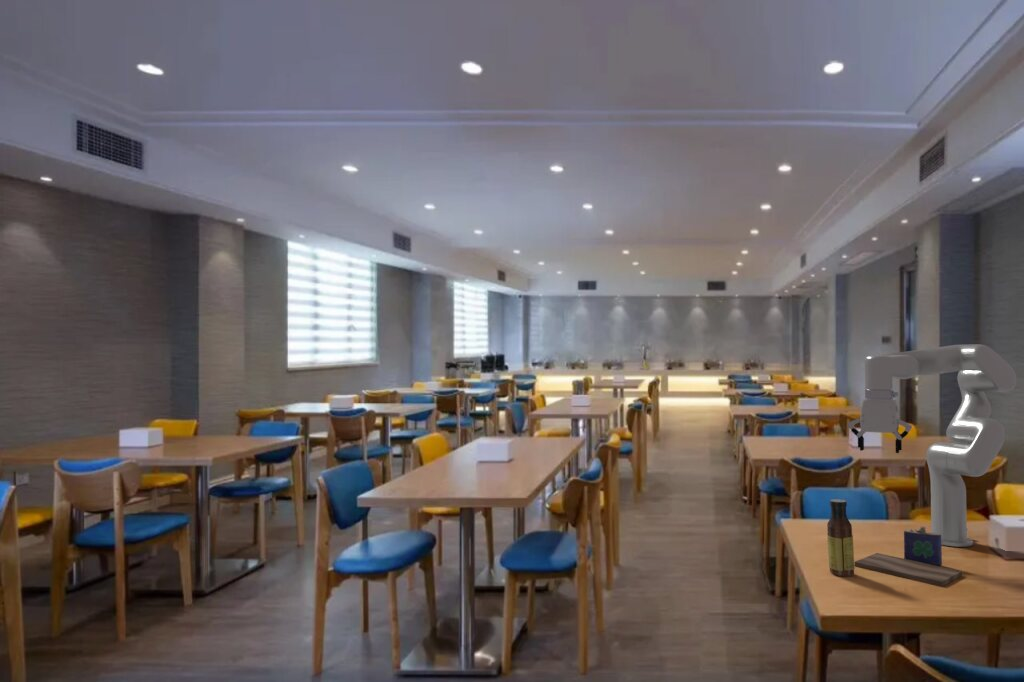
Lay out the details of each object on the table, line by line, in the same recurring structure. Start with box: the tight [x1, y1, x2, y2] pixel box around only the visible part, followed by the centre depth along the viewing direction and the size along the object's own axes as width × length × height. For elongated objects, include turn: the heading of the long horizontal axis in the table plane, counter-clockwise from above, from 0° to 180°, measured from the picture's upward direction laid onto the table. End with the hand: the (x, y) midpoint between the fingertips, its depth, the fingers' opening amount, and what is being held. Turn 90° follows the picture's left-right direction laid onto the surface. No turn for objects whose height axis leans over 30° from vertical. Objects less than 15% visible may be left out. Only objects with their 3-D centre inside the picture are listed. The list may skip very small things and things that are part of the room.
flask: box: [903, 525, 943, 567], centre depth 192 cm, size 9×3×11 cm, turn 64°
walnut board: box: [854, 552, 963, 587], centre depth 186 cm, size 14×22×1 cm, turn 38°
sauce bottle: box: [827, 498, 856, 578], centre depth 184 cm, size 6×6×20 cm
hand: (879, 451), depth 207 cm, fingers open, 9 cm apart
